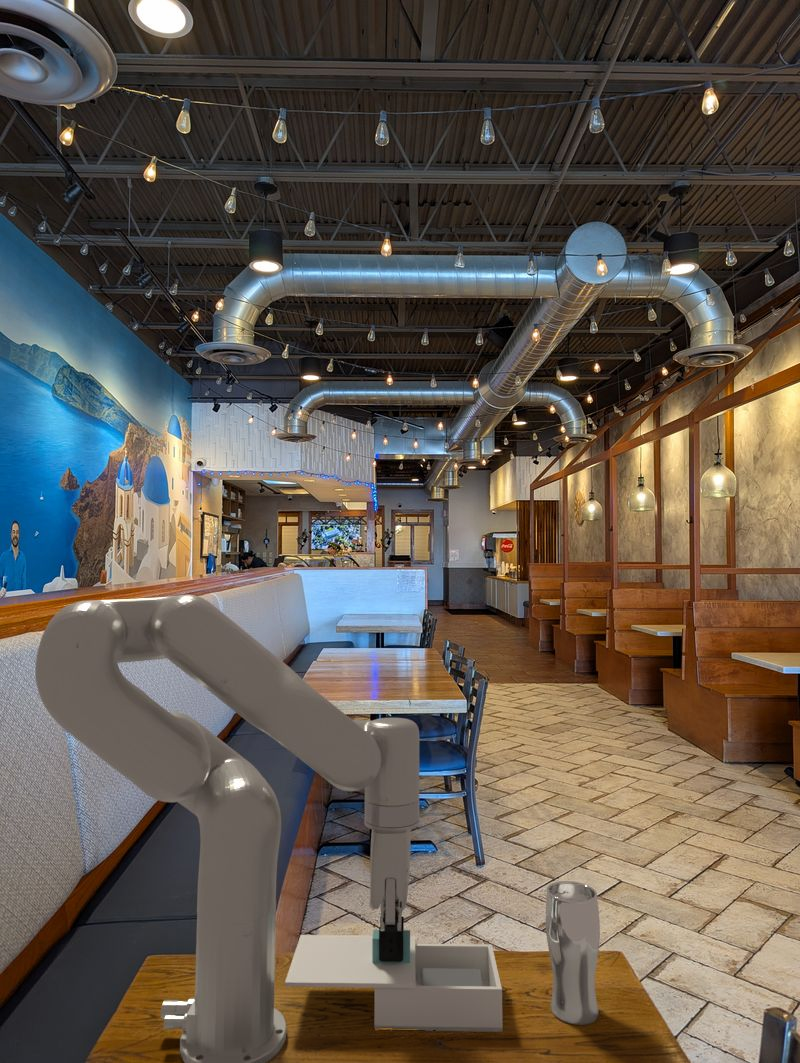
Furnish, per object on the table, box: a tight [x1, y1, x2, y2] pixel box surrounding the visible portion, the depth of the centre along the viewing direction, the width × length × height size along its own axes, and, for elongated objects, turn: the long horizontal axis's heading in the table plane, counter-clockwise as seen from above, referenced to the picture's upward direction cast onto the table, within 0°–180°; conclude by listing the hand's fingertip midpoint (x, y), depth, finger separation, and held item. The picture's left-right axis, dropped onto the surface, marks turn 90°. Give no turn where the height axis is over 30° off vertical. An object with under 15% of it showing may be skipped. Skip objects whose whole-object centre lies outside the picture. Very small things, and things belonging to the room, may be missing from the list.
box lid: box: [284, 929, 416, 989], centre depth 90 cm, size 16×12×4 cm
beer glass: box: [545, 880, 601, 1026], centre depth 89 cm, size 7×7×15 cm
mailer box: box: [373, 943, 504, 1033], centre depth 90 cm, size 16×11×5 cm
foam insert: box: [421, 968, 483, 986], centre depth 90 cm, size 8×6×2 cm
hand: (391, 952), depth 90 cm, fingers closed on box lid, 2 cm apart
